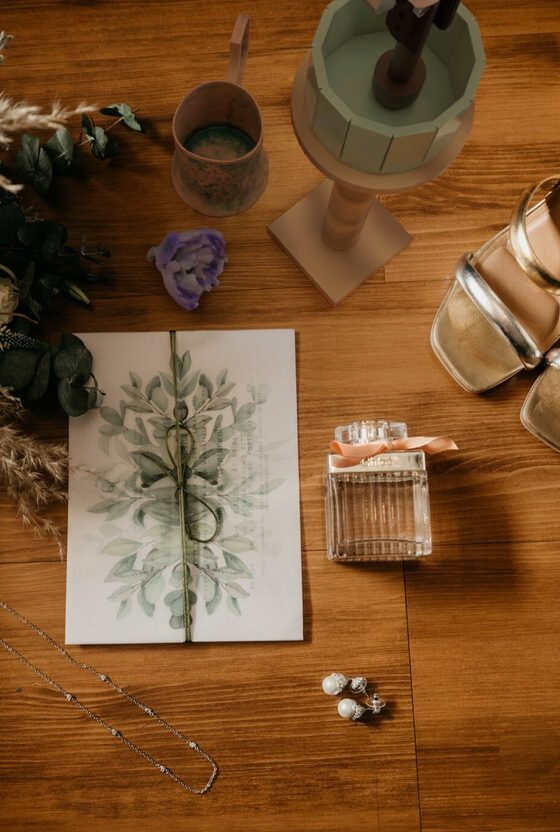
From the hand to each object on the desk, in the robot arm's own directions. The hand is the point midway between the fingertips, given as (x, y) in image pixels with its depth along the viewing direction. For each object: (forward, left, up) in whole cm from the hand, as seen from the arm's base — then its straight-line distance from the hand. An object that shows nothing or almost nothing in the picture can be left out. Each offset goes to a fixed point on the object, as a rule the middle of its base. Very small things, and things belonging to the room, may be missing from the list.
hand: (417, 24), depth 50 cm
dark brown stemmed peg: (0, 0, -7) cm, 7 cm away
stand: (+1, 0, -34) cm, 34 cm away
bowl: (+1, 0, -8) cm, 8 cm away
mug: (+4, -17, -34) cm, 39 cm away
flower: (+18, -8, -34) cm, 40 cm away
